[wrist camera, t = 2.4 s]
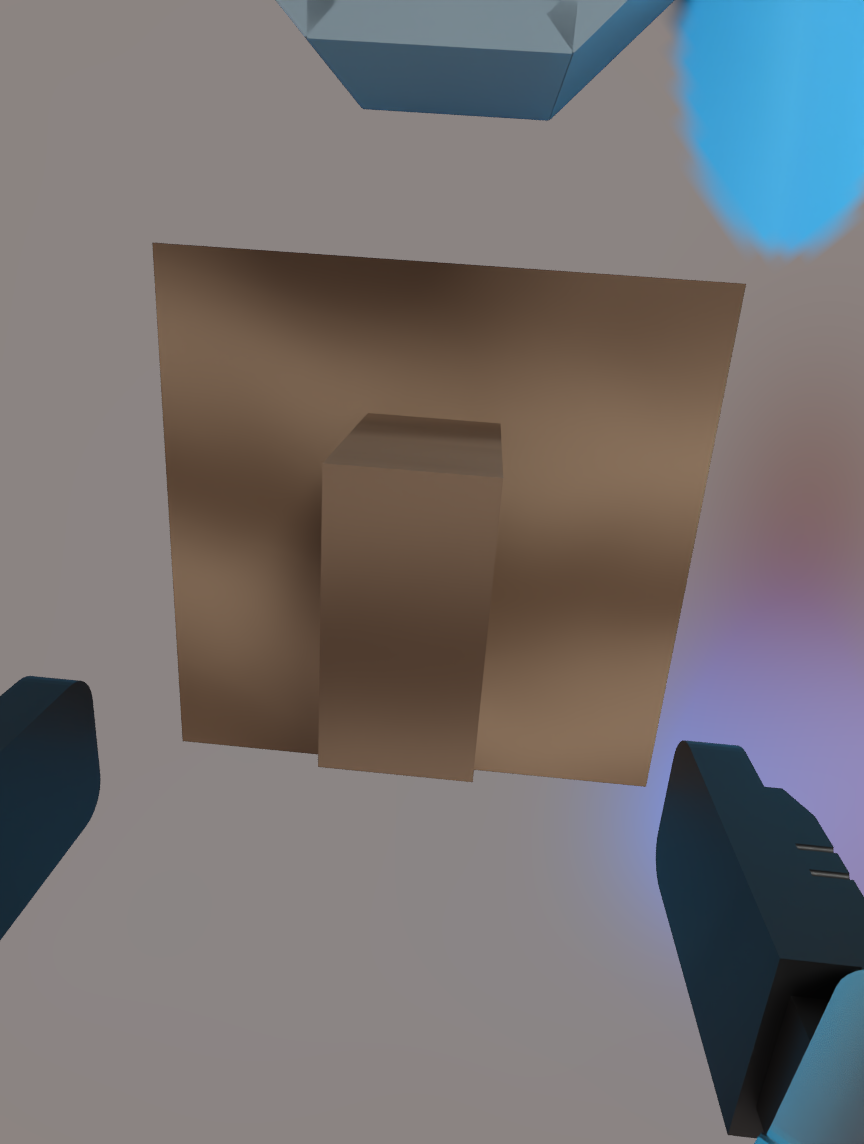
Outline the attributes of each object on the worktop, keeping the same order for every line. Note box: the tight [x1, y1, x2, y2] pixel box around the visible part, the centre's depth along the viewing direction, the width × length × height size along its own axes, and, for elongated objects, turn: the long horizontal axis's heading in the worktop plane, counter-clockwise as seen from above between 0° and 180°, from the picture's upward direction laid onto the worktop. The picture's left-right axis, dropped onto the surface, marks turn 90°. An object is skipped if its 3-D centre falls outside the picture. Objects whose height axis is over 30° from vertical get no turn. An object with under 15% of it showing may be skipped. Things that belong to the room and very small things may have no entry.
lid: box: [153, 243, 746, 787], centre depth 17 cm, size 12×12×6 cm
